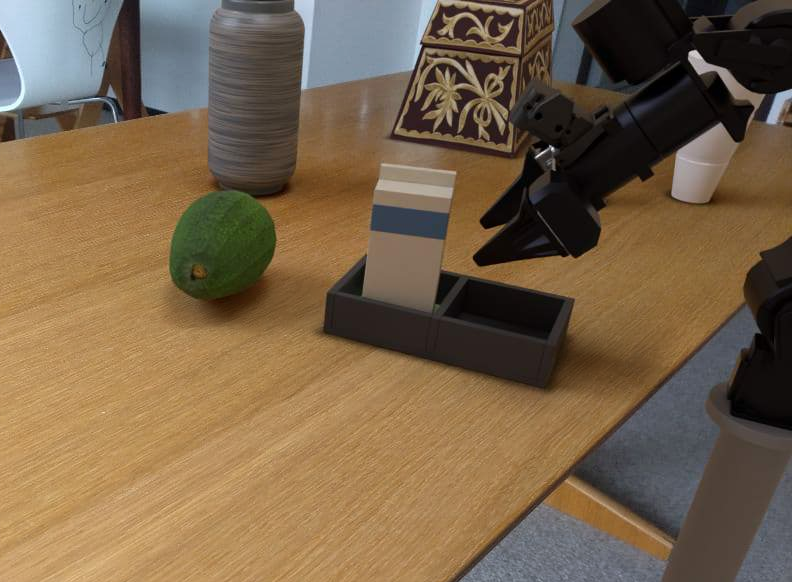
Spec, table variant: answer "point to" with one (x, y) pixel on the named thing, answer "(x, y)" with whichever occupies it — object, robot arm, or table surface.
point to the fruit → (221, 245)
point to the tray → (459, 324)
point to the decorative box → (476, 74)
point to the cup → (708, 145)
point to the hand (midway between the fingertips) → (478, 242)
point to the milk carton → (408, 235)
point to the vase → (254, 94)
